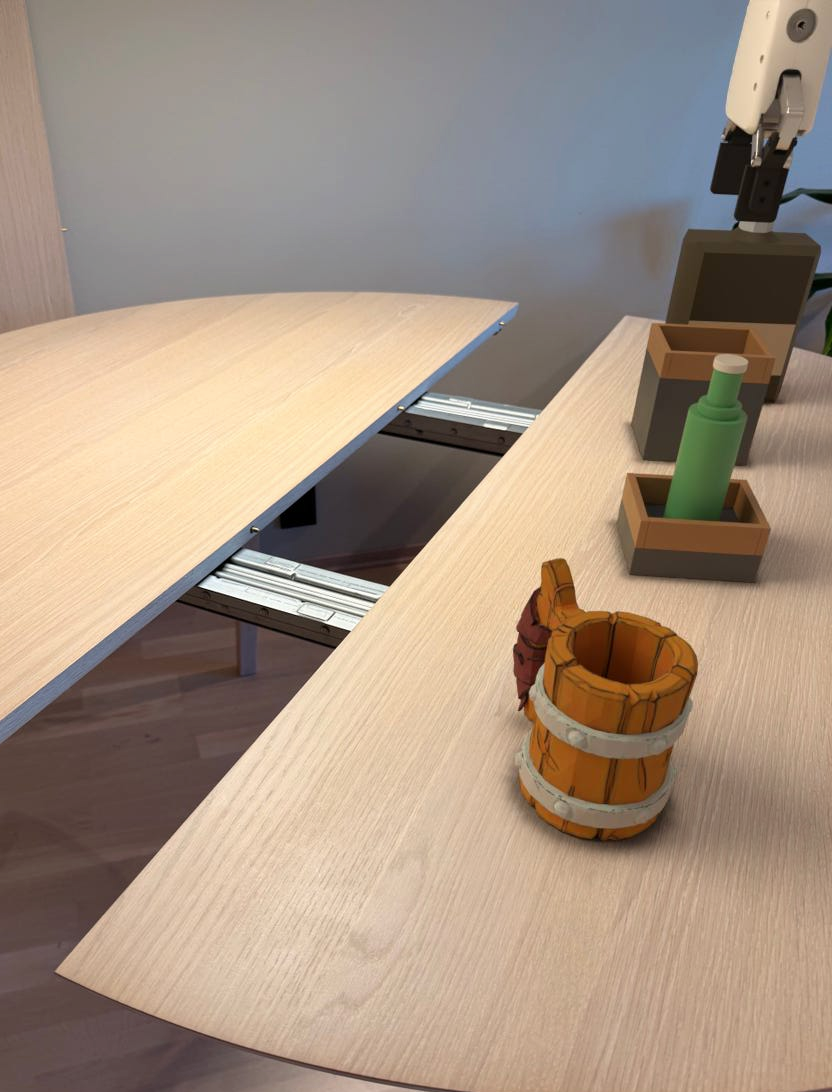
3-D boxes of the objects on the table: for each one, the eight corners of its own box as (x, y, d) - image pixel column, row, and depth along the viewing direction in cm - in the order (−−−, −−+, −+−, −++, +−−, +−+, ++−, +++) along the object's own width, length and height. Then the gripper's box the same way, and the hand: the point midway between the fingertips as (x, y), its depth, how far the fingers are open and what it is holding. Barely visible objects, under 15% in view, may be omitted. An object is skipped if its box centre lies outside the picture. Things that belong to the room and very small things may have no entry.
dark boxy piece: (649, 377, 137) (690, 184, 122) (765, 382, 137) (820, 188, 122) (661, 399, 131) (704, 199, 116) (782, 405, 130) (842, 204, 115)
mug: (572, 867, 66) (611, 695, 57) (455, 718, 78) (472, 557, 69) (700, 821, 69) (756, 652, 61) (570, 686, 81) (600, 528, 73)
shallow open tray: (732, 531, 103) (746, 479, 99) (754, 582, 95) (771, 528, 91) (616, 523, 104) (626, 472, 100) (629, 574, 96) (640, 520, 92)
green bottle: (710, 515, 99) (754, 350, 89) (721, 541, 95) (768, 371, 85) (658, 511, 100) (696, 347, 90) (666, 537, 96) (707, 368, 85)
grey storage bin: (727, 430, 123) (754, 327, 116) (745, 465, 115) (776, 358, 108) (630, 424, 124) (651, 322, 116) (642, 459, 116) (665, 352, 108)
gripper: (893, -37, 65) (815, 235, 75) (819, -44, 79) (761, 187, 89) (777, -41, 65) (714, 230, 75) (724, -47, 79) (677, 183, 89)
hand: (740, 206), depth 82 cm, fingers open, 9 cm apart
